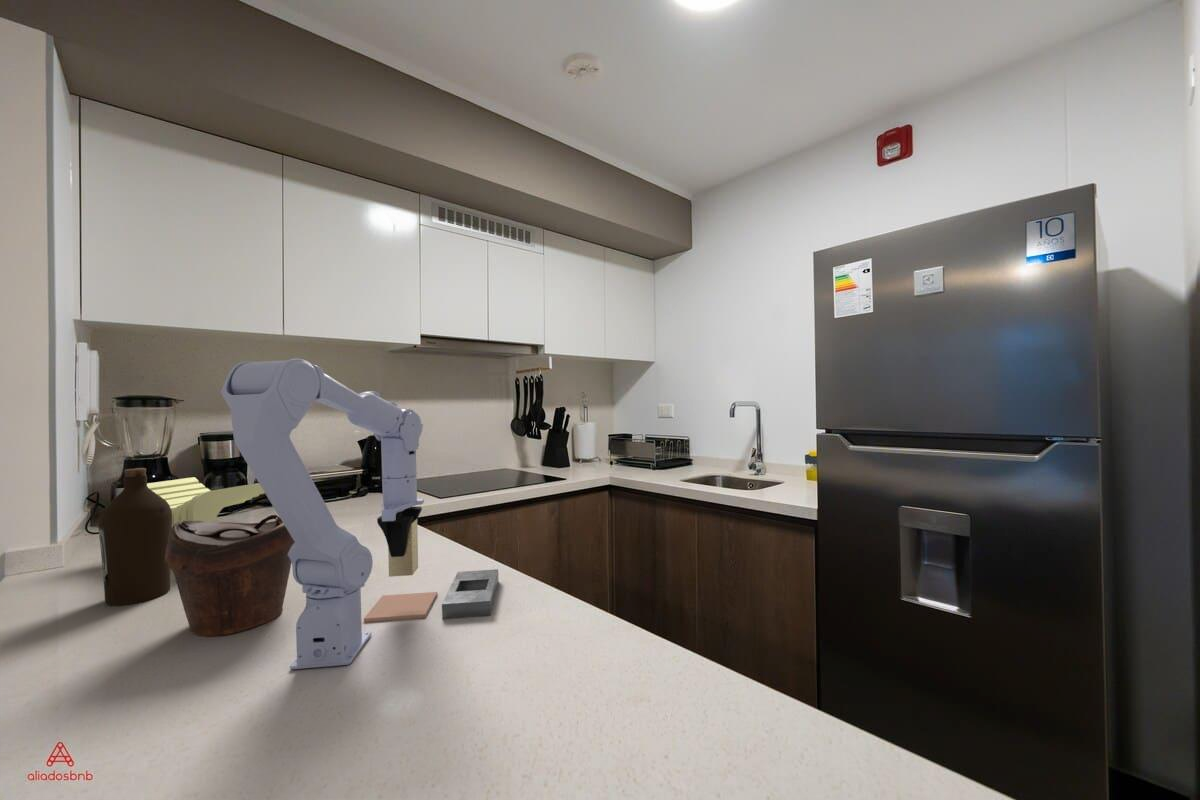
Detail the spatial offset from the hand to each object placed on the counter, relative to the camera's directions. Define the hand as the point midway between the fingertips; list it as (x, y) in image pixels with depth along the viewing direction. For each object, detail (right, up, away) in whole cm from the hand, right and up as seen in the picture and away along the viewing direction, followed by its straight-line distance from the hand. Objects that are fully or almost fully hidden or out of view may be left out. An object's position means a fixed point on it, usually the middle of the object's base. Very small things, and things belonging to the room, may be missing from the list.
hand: (401, 552), depth 90 cm
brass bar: (0, -4, 0) cm, 4 cm away
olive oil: (-55, -12, +9) cm, 57 cm away
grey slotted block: (+12, -10, +3) cm, 16 cm away
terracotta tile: (0, -10, 0) cm, 10 cm away
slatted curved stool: (-65, -12, +34) cm, 74 cm away
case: (-27, -11, -3) cm, 29 cm away
